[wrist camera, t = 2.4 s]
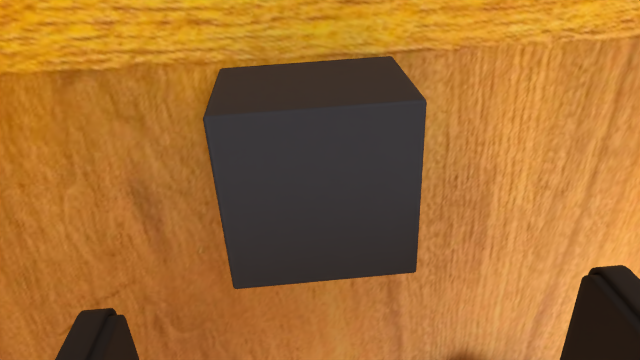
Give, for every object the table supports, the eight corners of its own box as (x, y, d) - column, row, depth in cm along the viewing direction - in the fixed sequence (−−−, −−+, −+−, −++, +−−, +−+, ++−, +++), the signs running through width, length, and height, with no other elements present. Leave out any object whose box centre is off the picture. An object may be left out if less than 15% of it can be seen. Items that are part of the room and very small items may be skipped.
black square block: (218, 67, 17) (201, 117, 13) (392, 55, 17) (427, 99, 13) (241, 214, 20) (233, 290, 16) (388, 201, 20) (416, 273, 16)
